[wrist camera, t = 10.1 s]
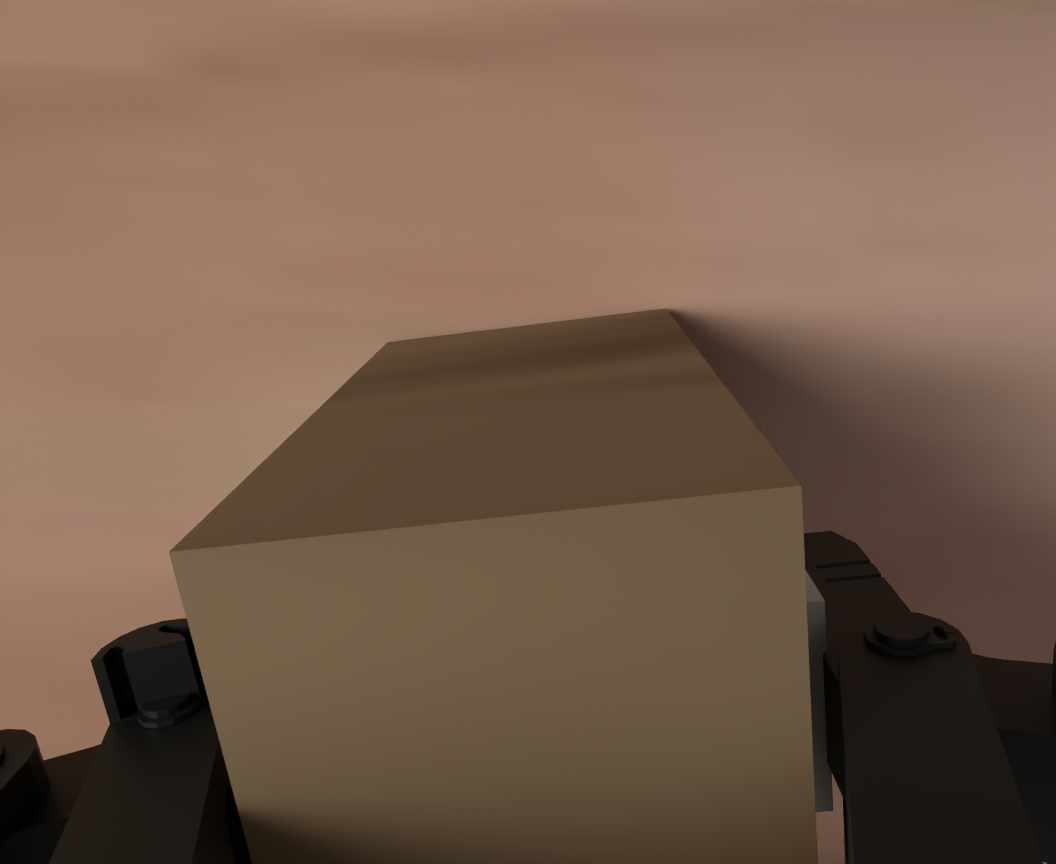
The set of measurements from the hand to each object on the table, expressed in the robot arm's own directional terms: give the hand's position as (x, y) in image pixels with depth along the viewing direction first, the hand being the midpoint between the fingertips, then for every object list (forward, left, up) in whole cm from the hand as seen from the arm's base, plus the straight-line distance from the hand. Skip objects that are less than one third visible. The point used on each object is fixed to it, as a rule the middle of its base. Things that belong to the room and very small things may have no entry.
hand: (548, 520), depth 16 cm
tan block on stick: (+6, 0, 0) cm, 6 cm away
